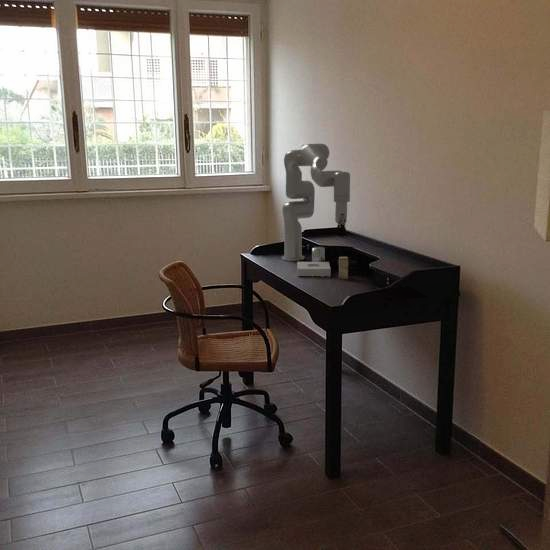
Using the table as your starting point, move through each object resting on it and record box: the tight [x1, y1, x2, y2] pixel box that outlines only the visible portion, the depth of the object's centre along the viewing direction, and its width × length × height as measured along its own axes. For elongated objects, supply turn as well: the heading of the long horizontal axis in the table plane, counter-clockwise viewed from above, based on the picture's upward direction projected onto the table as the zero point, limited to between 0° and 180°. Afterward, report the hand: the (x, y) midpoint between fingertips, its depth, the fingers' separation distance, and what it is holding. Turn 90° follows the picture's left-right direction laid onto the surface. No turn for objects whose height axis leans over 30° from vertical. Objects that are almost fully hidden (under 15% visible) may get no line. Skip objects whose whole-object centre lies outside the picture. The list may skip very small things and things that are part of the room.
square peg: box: [338, 256, 349, 280], centre depth 305 cm, size 4×4×10 cm
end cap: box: [336, 257, 358, 275], centre depth 317 cm, size 10×7×7 cm
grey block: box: [311, 246, 326, 262], centre depth 328 cm, size 7×7×10 cm
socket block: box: [296, 261, 332, 278], centre depth 315 cm, size 16×16×4 cm
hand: (341, 234), depth 301 cm, fingers open, 9 cm apart
